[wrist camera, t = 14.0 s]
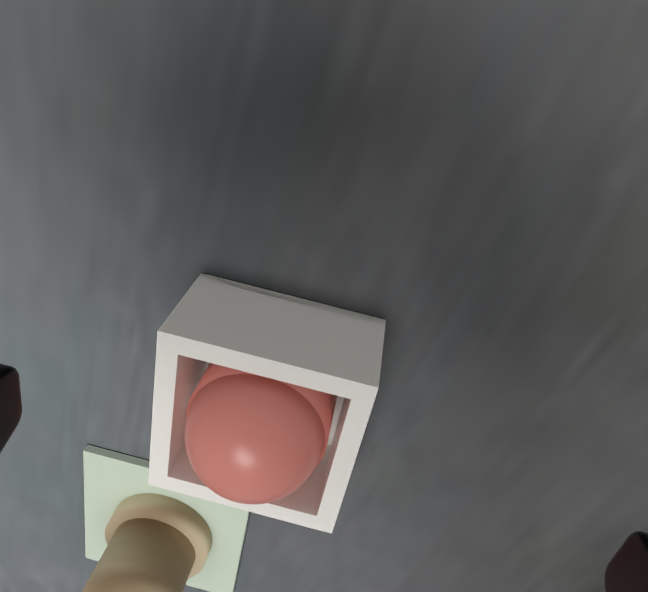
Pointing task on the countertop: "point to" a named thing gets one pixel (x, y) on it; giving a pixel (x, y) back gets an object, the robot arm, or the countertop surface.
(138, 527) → the pawn
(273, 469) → the pink rounded piece
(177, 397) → the housing
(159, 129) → the countertop surface
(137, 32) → the countertop surface
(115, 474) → the pad
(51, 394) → the countertop surface
